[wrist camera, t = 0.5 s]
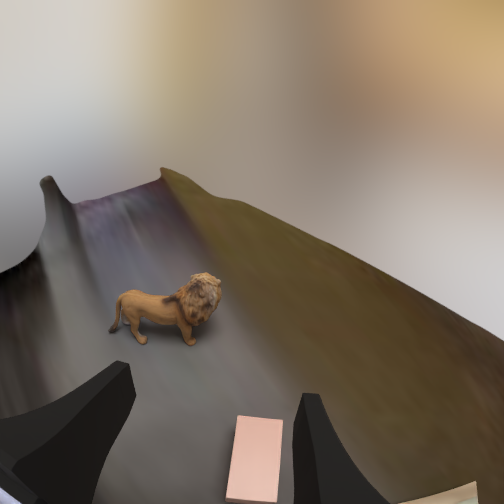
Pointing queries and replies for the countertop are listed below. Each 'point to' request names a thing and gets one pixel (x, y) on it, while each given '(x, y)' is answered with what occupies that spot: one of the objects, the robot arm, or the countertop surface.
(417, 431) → the countertop surface
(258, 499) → the terracotta brick
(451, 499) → the tower base
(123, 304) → the lion figurine
